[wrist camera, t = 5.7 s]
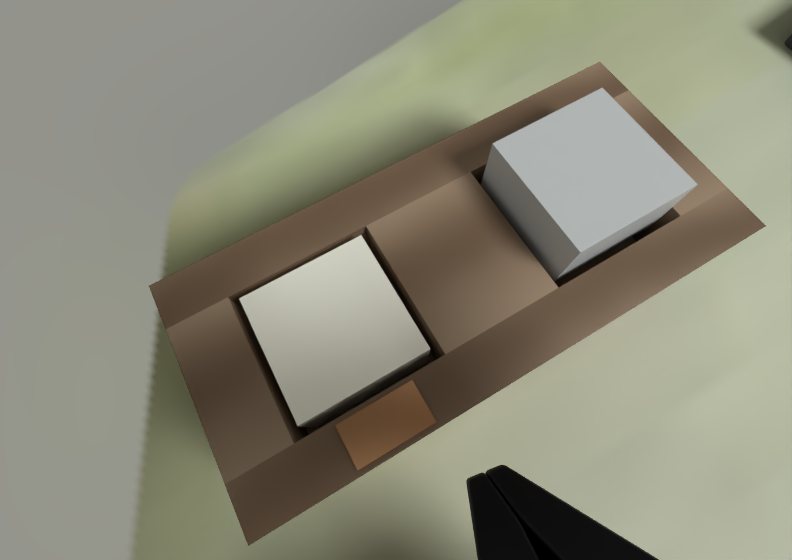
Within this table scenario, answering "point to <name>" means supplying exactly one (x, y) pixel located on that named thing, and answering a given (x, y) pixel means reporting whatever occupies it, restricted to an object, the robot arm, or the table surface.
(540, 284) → the brown rectangular box
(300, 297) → the cream button
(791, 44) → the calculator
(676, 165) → the grey button
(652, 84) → the table surface
